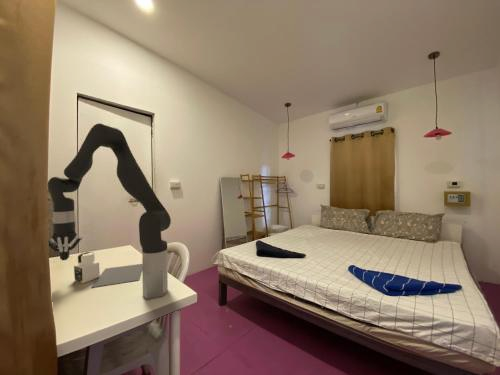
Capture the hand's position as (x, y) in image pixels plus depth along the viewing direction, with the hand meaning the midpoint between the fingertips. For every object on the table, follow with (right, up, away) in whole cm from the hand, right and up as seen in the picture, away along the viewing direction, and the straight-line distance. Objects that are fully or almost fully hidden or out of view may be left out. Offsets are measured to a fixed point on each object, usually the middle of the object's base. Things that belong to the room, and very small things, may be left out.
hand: (64, 259), depth 94 cm
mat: (+20, -10, +8) cm, 24 cm away
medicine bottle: (+8, -10, +3) cm, 13 cm away
